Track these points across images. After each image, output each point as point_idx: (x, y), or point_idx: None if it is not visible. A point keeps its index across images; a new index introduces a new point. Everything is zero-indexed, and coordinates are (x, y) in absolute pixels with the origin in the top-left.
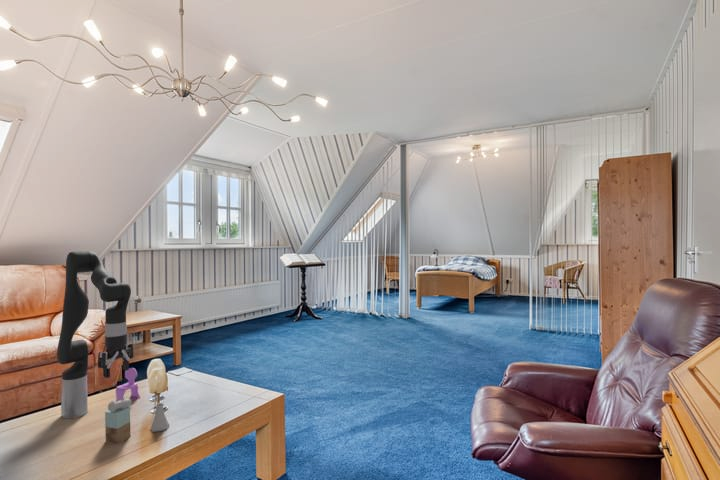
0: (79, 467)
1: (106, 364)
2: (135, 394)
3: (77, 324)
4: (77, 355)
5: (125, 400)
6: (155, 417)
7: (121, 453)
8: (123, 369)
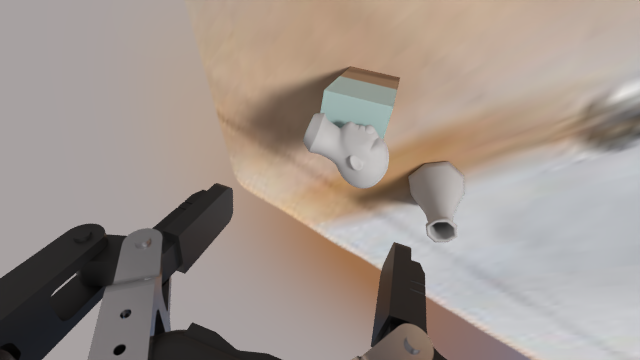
0: (230, 88)
1: (156, 269)
2: None
3: None
4: None
5: (349, 177)
6: (425, 198)
7: (298, 150)
8: (393, 247)
